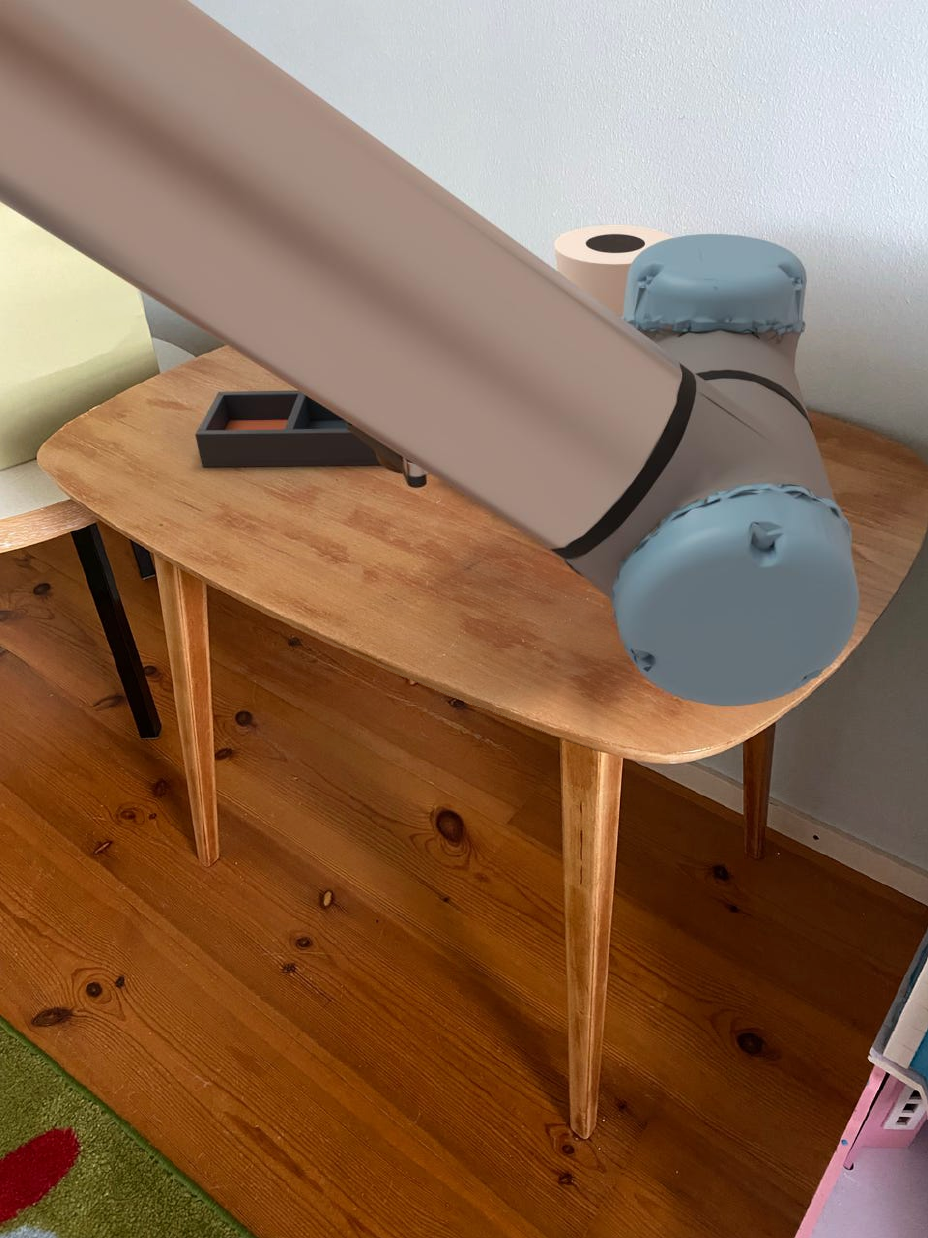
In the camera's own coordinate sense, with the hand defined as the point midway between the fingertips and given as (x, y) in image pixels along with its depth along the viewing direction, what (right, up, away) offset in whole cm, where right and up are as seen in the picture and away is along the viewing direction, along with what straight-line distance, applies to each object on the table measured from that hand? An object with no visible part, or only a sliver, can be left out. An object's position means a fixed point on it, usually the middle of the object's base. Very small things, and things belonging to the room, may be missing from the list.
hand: (375, 350), depth 72 cm
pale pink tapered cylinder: (+20, -1, +25) cm, 32 cm away
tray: (-10, -2, +25) cm, 27 cm away
